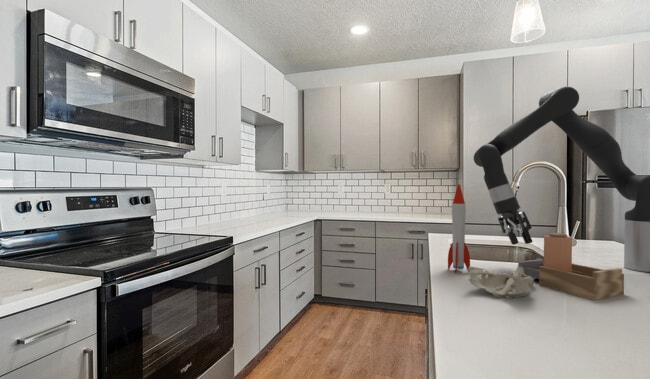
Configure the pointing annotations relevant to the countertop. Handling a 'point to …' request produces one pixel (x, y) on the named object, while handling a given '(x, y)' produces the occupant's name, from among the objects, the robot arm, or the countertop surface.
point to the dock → (584, 281)
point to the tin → (558, 252)
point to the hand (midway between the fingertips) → (522, 243)
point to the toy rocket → (458, 234)
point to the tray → (535, 268)
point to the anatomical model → (502, 282)
